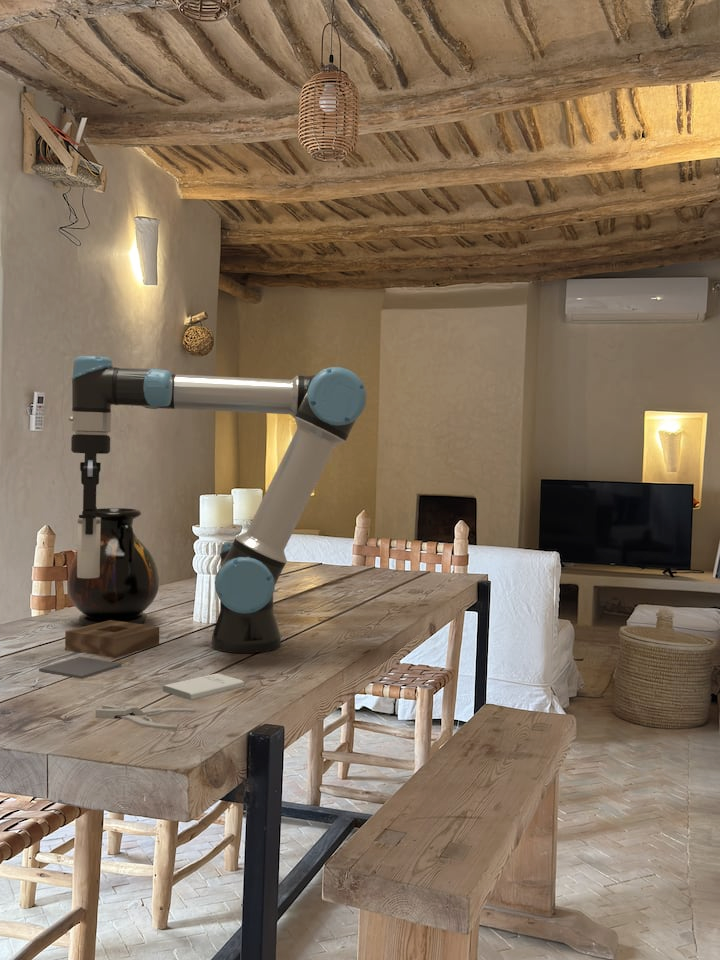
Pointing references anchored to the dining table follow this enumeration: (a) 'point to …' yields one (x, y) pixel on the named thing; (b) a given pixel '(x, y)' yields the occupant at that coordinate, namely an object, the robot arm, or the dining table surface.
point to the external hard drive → (203, 686)
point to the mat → (80, 667)
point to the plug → (88, 554)
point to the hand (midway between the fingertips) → (88, 548)
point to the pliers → (124, 713)
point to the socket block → (112, 638)
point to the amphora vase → (116, 574)
